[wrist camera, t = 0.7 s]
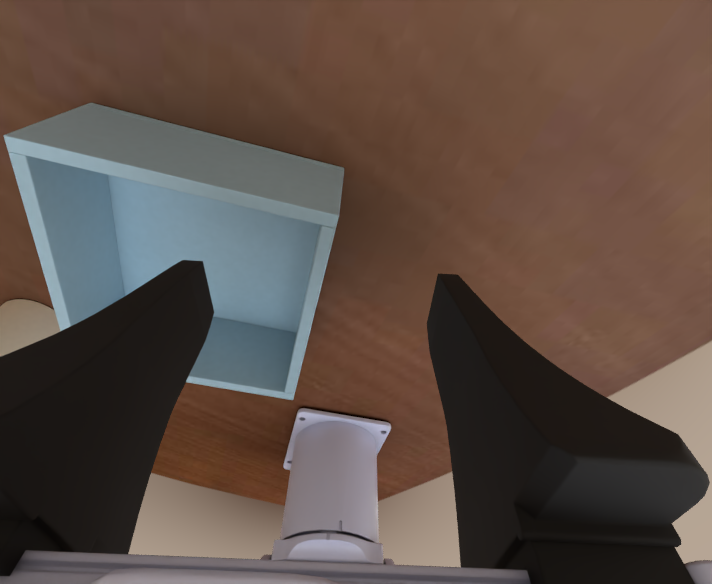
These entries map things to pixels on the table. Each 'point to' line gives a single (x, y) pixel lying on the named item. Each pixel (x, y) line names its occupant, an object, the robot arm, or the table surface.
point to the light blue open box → (182, 231)
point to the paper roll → (25, 324)
